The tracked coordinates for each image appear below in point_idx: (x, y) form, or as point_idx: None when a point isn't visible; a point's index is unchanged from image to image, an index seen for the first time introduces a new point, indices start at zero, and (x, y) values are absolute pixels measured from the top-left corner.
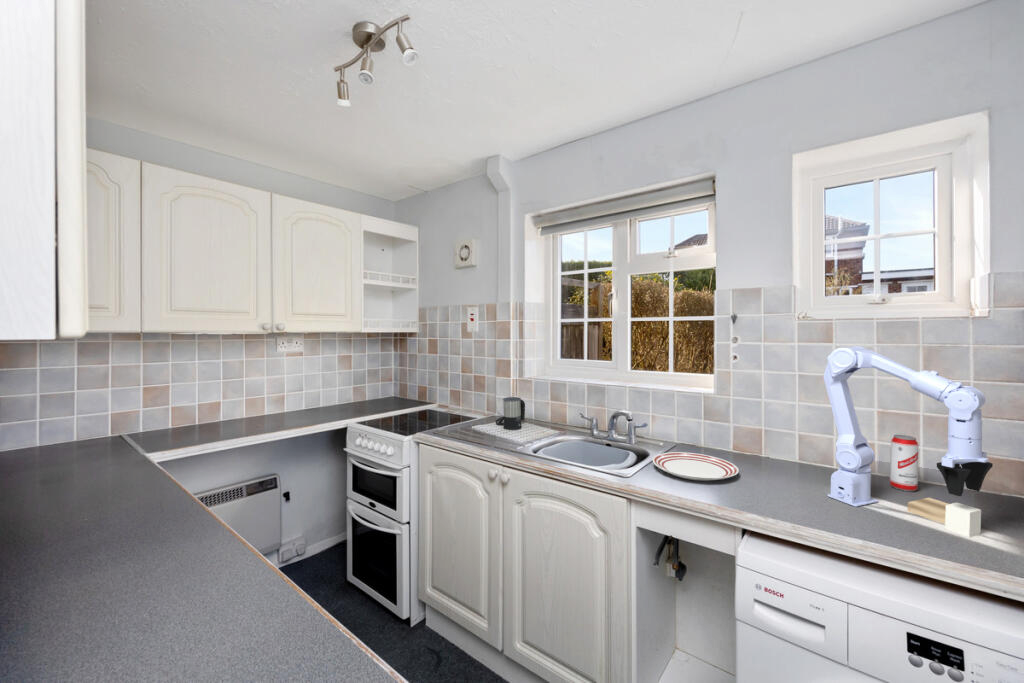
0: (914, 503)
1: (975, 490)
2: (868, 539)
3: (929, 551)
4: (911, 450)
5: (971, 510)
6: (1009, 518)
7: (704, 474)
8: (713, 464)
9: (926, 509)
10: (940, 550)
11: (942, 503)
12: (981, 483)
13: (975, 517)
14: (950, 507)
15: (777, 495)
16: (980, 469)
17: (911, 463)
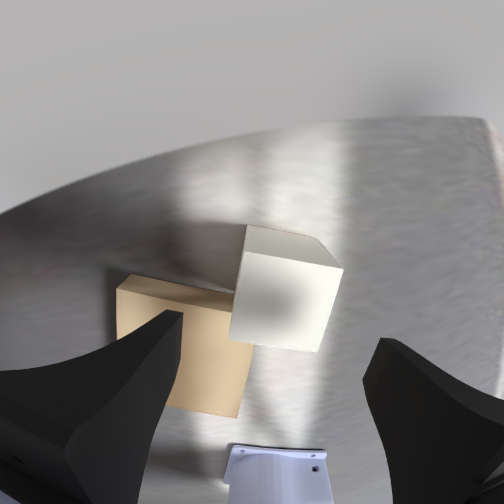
0: (227, 407)
1: (181, 325)
2: (496, 352)
3: (491, 269)
4: None
5: (299, 274)
6: (23, 215)
7: None
8: None
9: (246, 377)
10: (474, 256)
11: None
12: (155, 331)
13: (291, 250)
14: (321, 335)
15: (373, 497)
16: (114, 431)
17: None
